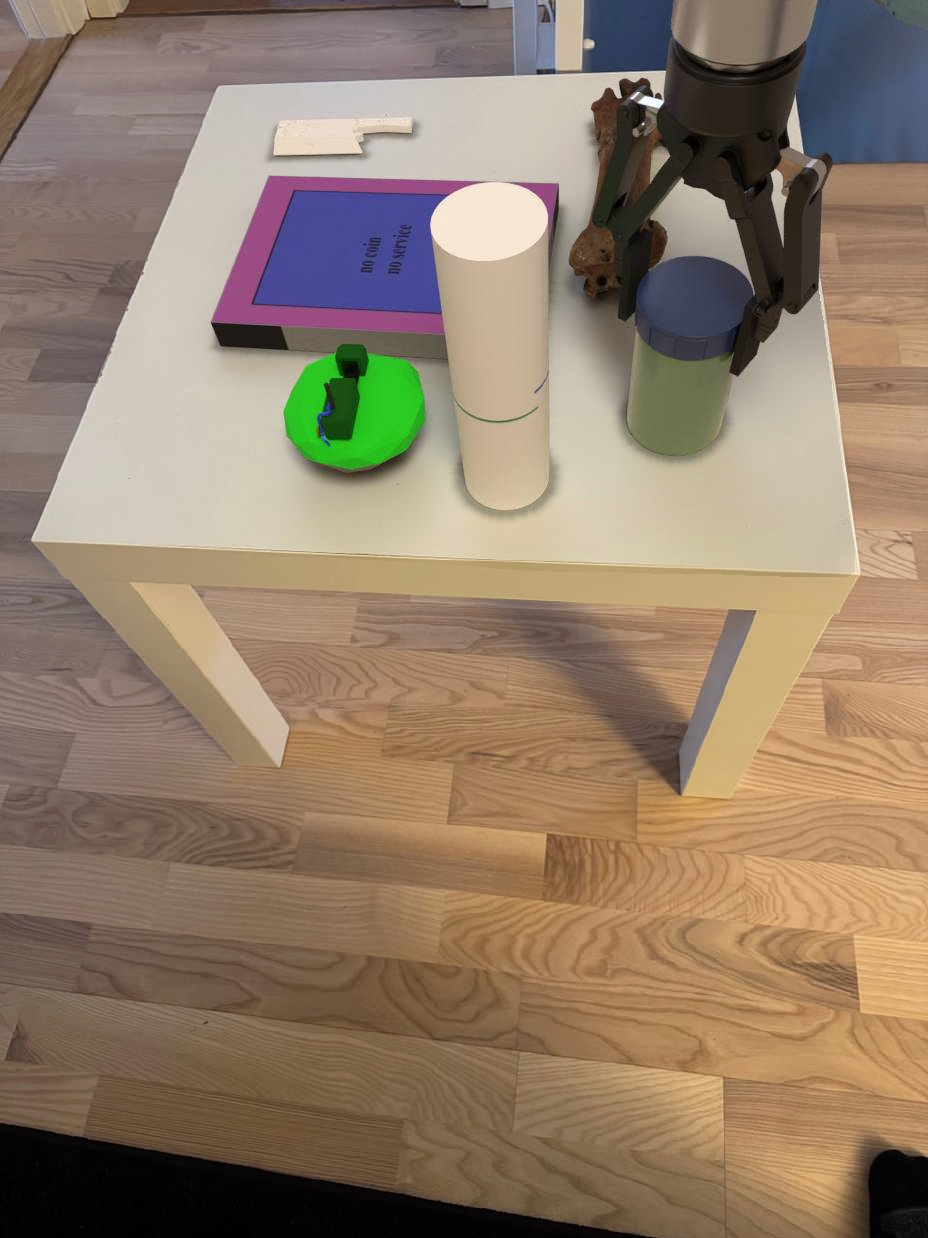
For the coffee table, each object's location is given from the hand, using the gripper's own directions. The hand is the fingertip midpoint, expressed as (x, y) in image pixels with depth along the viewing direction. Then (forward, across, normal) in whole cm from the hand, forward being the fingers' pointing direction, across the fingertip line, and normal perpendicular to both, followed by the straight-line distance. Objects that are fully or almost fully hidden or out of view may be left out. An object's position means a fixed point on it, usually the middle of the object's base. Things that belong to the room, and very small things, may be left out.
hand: (685, 335), depth 71 cm
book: (+10, +32, 0) cm, 33 cm away
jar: (+9, 0, 0) cm, 9 cm away
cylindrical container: (+10, +8, +13) cm, 18 cm away
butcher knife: (+10, +51, -13) cm, 53 cm away
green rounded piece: (+10, +20, +17) cm, 28 cm away
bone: (+10, +19, -20) cm, 29 cm away
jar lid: (-4, 0, 0) cm, 4 cm away
